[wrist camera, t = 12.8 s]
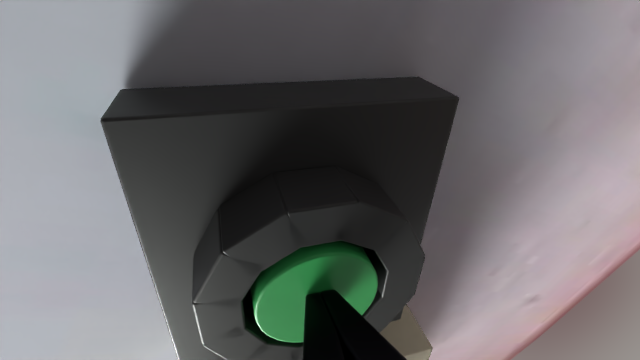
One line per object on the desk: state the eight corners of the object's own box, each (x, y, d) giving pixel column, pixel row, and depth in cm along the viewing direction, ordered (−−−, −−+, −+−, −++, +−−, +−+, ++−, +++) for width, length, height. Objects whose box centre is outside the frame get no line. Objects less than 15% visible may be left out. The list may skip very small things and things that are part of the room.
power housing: (119, 88, 9) (71, 159, 6) (419, 76, 11) (508, 120, 8) (185, 323, 14) (179, 430, 11) (379, 281, 16) (423, 359, 13)
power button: (242, 223, 9) (249, 268, 8) (362, 205, 10) (387, 243, 9) (251, 306, 11) (258, 355, 10) (351, 285, 12) (371, 327, 11)
